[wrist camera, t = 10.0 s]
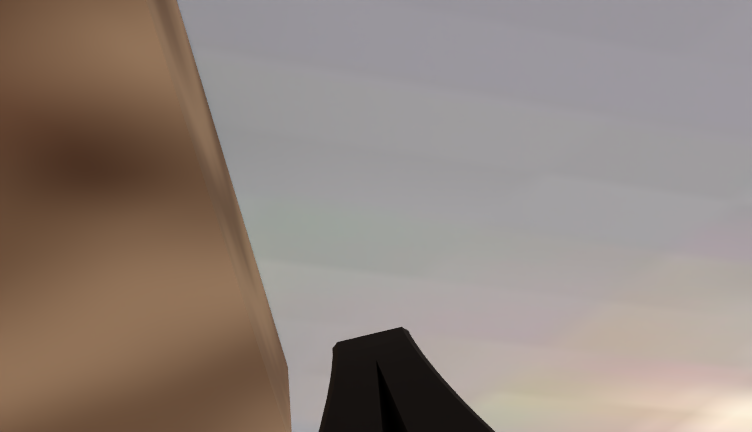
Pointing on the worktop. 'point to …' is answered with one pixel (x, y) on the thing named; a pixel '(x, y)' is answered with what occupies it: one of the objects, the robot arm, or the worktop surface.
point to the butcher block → (123, 234)
